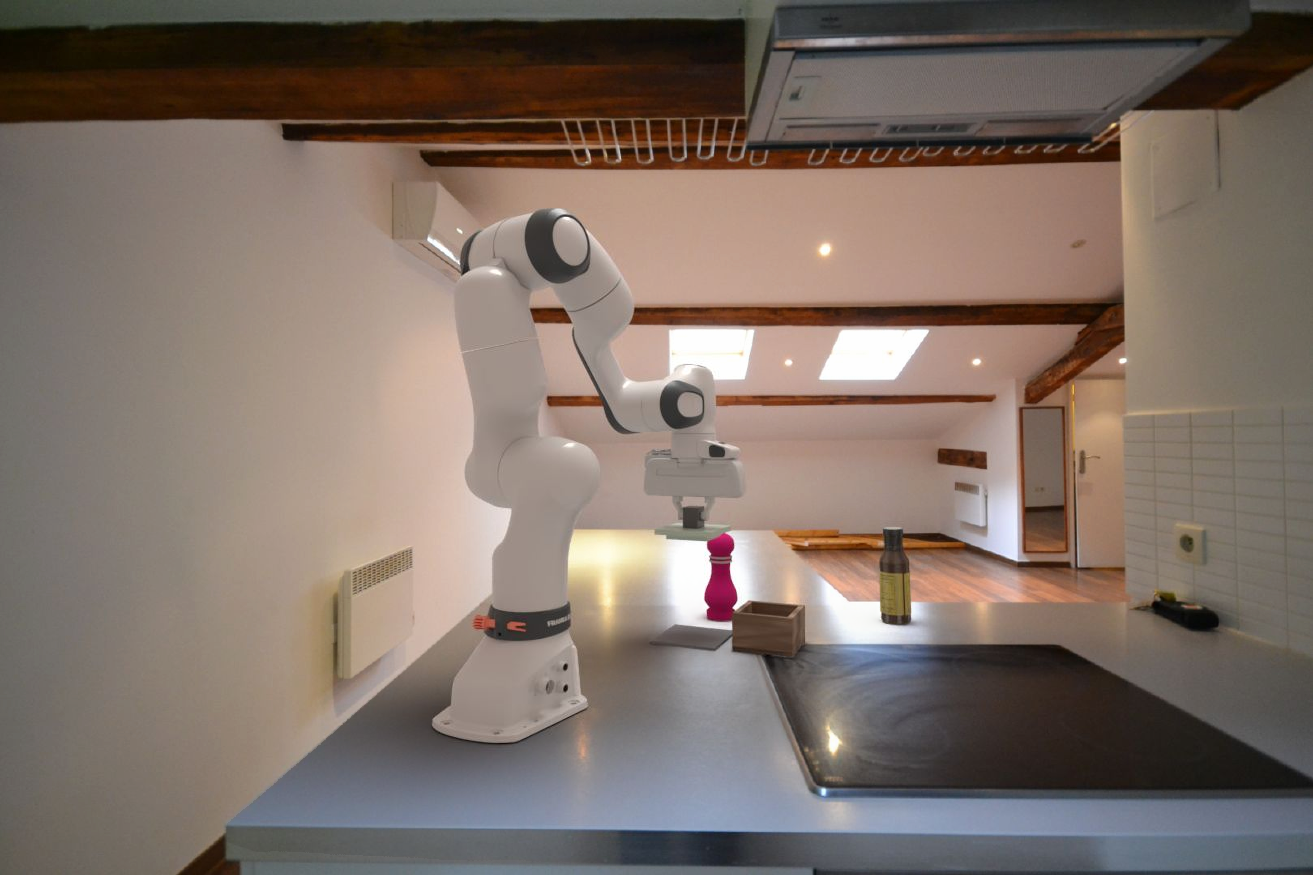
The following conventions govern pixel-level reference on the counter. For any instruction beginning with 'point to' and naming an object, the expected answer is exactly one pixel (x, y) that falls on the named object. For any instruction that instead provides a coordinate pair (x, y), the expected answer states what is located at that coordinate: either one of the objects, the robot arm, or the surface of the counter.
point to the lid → (692, 527)
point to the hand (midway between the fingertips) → (693, 520)
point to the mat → (693, 637)
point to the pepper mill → (720, 580)
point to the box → (768, 628)
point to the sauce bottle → (894, 579)
